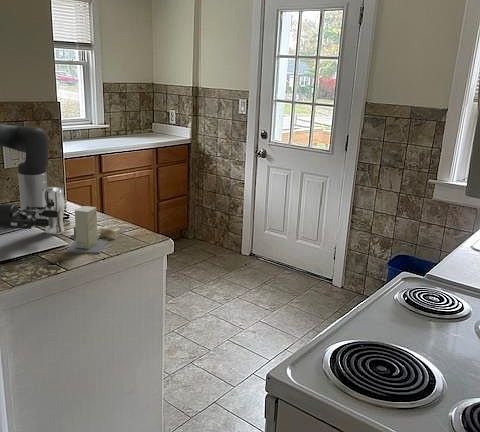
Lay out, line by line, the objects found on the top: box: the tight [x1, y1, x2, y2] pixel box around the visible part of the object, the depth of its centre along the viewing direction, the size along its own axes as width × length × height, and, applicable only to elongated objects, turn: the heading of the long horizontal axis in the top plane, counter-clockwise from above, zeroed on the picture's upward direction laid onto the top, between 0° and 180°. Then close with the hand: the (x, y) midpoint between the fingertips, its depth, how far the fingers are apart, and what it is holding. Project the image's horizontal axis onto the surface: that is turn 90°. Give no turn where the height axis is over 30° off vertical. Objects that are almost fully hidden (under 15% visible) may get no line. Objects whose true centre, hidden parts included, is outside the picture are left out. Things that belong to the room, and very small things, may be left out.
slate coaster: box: [66, 238, 107, 255], centre depth 153 cm, size 10×10×1 cm
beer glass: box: [42, 186, 66, 236], centre depth 162 cm, size 7×7×15 cm
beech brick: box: [99, 225, 121, 240], centre depth 163 cm, size 6×3×3 cm, turn 67°
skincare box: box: [74, 205, 98, 249], centre depth 151 cm, size 6×4×12 cm
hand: (53, 218), depth 150 cm, fingers open, 8 cm apart
